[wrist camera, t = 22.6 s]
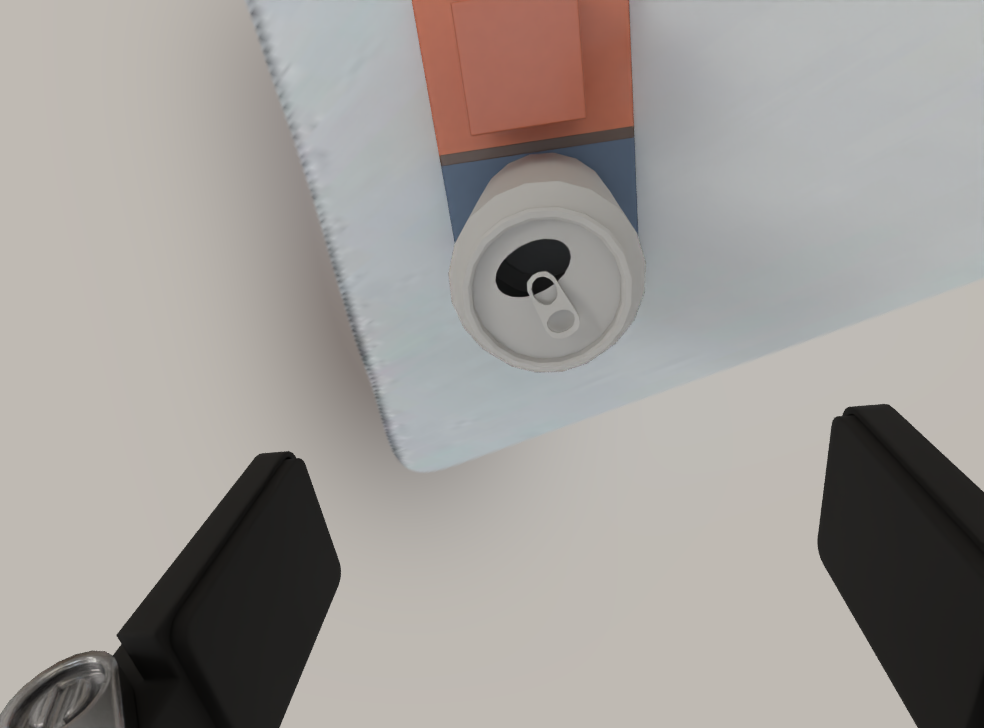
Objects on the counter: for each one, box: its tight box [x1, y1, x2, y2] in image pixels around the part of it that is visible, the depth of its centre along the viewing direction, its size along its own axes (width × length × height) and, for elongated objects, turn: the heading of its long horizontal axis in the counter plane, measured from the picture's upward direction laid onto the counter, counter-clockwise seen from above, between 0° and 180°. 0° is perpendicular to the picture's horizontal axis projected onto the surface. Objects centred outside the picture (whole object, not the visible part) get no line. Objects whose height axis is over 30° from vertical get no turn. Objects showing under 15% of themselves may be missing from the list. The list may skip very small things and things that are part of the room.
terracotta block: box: [450, 0, 587, 136], centre depth 25 cm, size 5×5×5 cm
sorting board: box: [412, 0, 638, 242], centre depth 30 cm, size 10×15×1 cm, turn 9°
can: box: [448, 153, 646, 372], centre depth 26 cm, size 8×8×12 cm
